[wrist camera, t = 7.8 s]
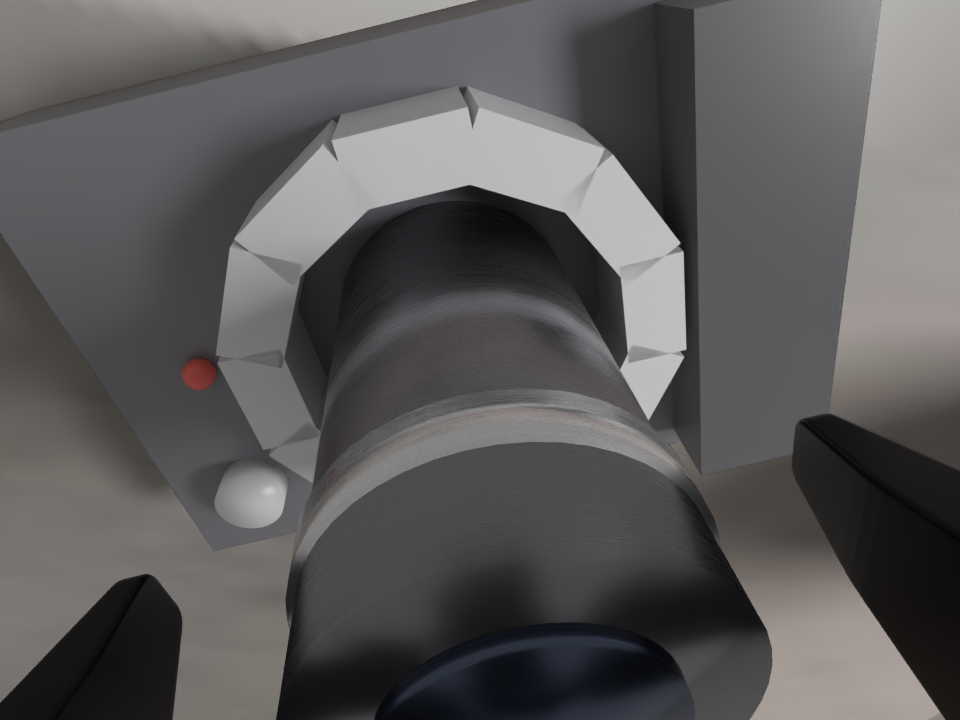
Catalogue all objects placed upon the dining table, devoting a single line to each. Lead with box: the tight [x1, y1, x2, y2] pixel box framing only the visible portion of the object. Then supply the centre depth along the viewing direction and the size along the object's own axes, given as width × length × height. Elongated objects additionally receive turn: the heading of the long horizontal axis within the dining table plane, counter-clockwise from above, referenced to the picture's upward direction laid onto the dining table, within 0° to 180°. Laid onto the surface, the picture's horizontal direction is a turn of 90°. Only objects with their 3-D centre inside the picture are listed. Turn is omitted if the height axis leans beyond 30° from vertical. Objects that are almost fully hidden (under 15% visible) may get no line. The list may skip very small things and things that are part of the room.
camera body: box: [0, 0, 882, 551], centre depth 14 cm, size 16×11×5 cm
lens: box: [276, 201, 772, 720], centre depth 10 cm, size 5×5×9 cm
